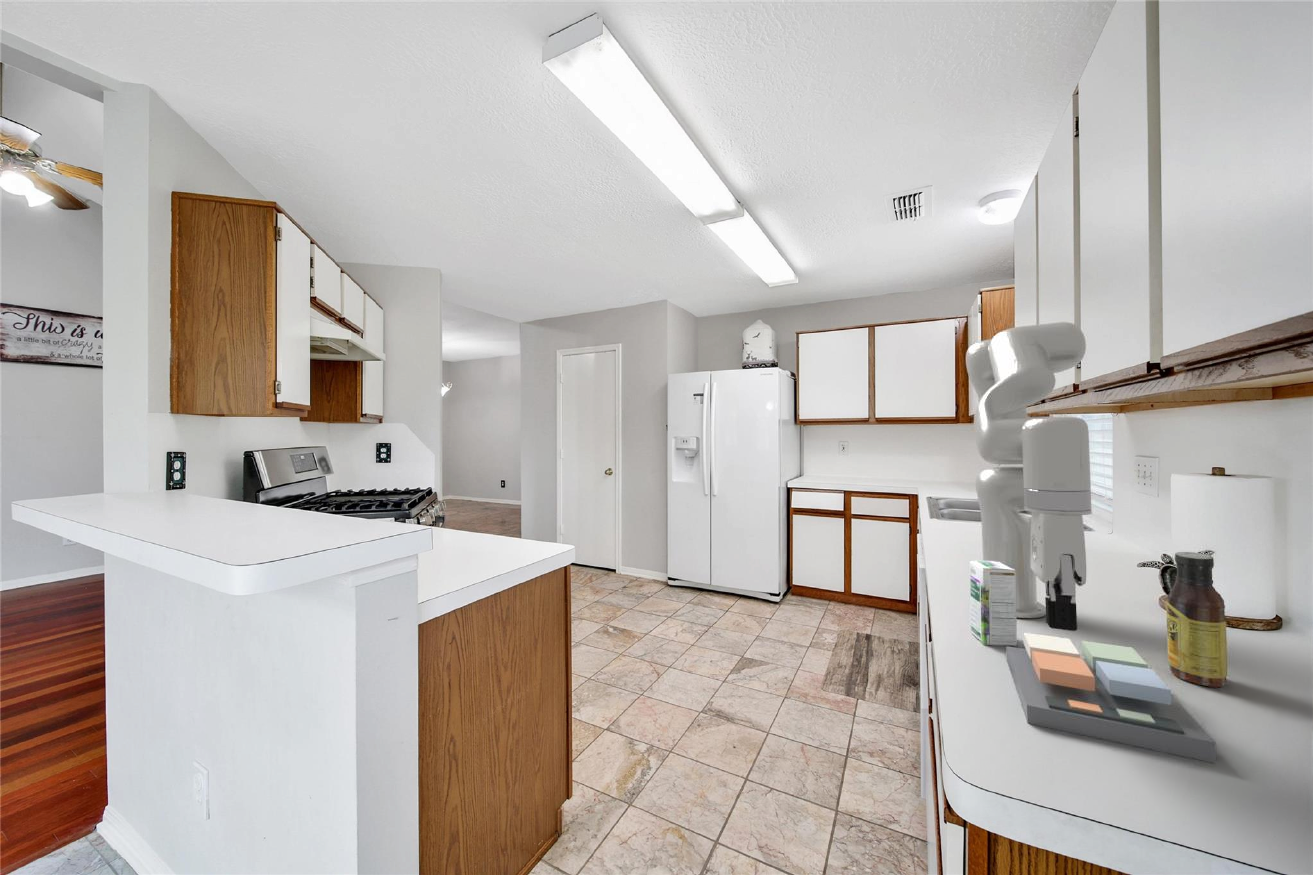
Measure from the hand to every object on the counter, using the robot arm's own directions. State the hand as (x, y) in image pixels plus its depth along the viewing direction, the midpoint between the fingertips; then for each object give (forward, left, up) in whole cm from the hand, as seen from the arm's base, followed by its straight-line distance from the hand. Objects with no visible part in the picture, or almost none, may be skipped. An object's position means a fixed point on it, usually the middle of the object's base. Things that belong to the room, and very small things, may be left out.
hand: (1061, 627), depth 69 cm
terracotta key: (-1, 0, -8) cm, 8 cm away
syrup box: (-22, -6, -12) cm, 26 cm away
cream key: (-8, 0, -8) cm, 11 cm away
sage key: (-8, +7, -7) cm, 13 cm away
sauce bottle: (-18, +20, -12) cm, 29 cm away
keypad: (-3, +4, -12) cm, 12 cm away
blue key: (-1, +7, -8) cm, 11 cm away
